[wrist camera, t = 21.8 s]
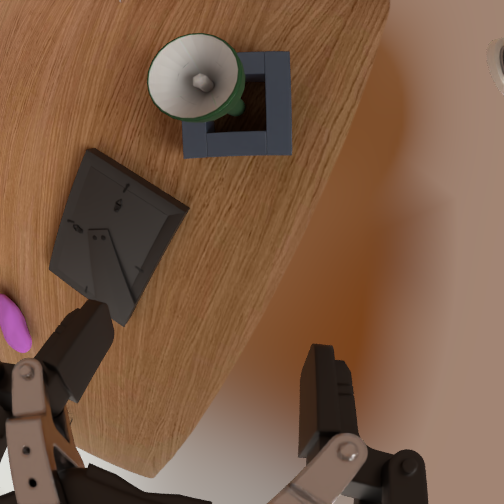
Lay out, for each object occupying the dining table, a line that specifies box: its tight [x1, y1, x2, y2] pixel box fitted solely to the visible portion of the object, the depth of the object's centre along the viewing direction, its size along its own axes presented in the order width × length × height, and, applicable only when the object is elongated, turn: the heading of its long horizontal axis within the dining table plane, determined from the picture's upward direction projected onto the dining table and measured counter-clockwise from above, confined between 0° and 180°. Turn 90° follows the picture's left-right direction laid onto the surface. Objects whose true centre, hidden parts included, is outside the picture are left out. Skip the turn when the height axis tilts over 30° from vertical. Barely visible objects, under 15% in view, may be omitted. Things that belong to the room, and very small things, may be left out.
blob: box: [0, 294, 32, 353], centre depth 44 cm, size 14×11×5 cm
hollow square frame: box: [182, 51, 292, 159], centre depth 29 cm, size 11×11×5 cm
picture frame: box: [49, 148, 190, 327], centre depth 37 cm, size 16×3×21 cm
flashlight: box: [147, 33, 246, 123], centre depth 22 cm, size 5×5×20 cm
